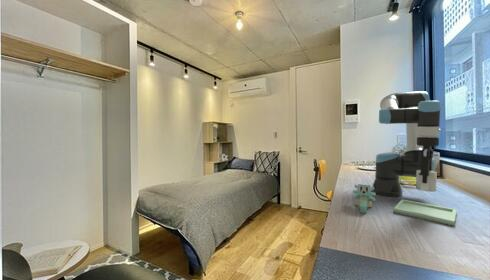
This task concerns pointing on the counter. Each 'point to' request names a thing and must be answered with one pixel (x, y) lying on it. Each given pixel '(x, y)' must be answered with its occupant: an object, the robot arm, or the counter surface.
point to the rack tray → (427, 211)
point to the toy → (364, 196)
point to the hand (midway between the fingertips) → (425, 188)
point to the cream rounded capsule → (431, 180)
